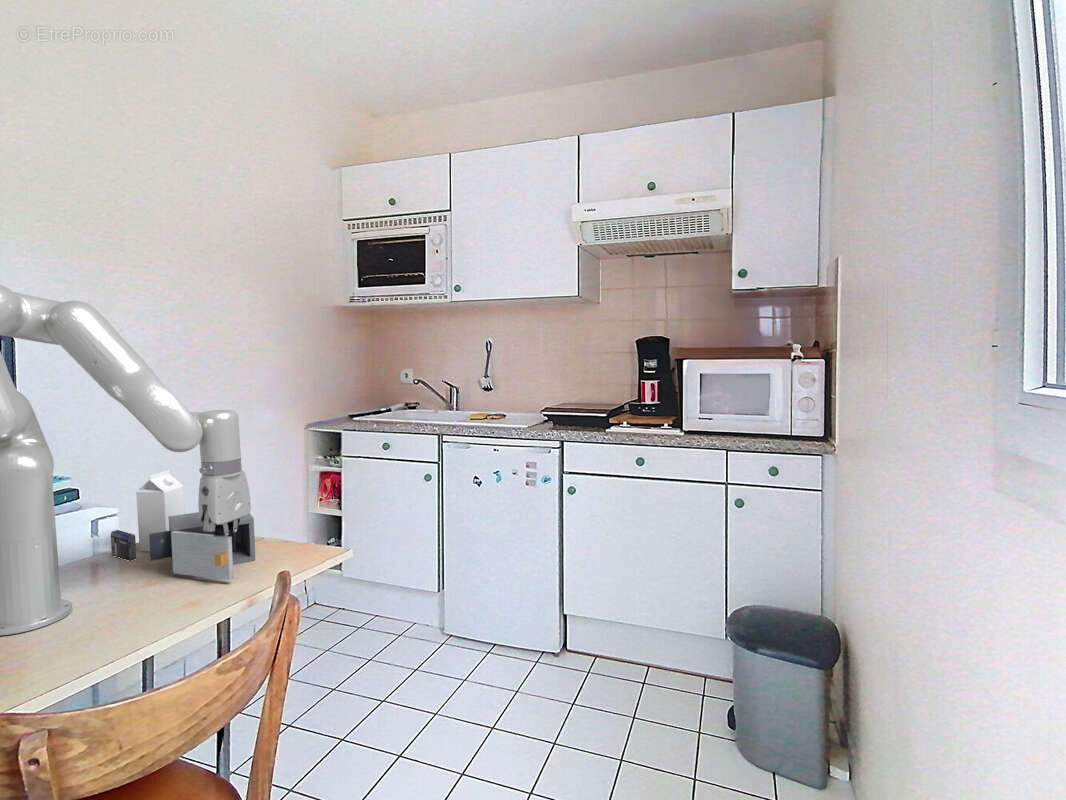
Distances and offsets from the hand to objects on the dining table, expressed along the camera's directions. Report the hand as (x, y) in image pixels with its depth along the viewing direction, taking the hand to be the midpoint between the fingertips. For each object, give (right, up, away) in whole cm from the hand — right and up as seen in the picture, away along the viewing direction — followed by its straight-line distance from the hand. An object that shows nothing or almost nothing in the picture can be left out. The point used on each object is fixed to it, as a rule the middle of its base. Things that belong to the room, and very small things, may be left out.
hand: (227, 551), depth 122 cm
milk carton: (-27, -5, +20) cm, 33 cm away
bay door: (-4, -5, -3) cm, 7 cm away
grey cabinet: (-11, -5, +10) cm, 16 cm away
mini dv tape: (-31, -5, +13) cm, 34 cm away
